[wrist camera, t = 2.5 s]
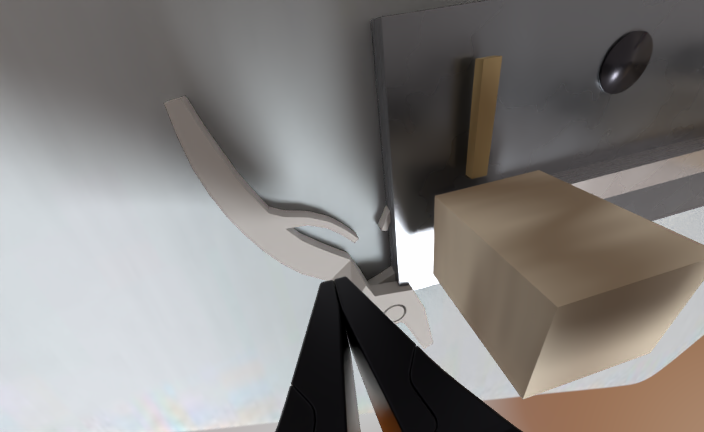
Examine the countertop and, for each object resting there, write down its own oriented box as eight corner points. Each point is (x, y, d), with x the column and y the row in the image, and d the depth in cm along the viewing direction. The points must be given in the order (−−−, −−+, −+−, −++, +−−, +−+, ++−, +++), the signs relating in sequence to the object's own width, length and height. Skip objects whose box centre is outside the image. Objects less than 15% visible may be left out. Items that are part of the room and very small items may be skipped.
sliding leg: (542, 46, 9) (877, 43, 4) (505, 236, 13) (650, 352, 8) (422, 68, 8) (636, 97, 3) (423, 259, 12) (522, 399, 7)
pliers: (491, 5, 8) (484, 323, 16) (459, 12, 9) (468, 302, 17) (143, 111, 7) (321, 392, 15) (162, 102, 8) (316, 365, 17)
